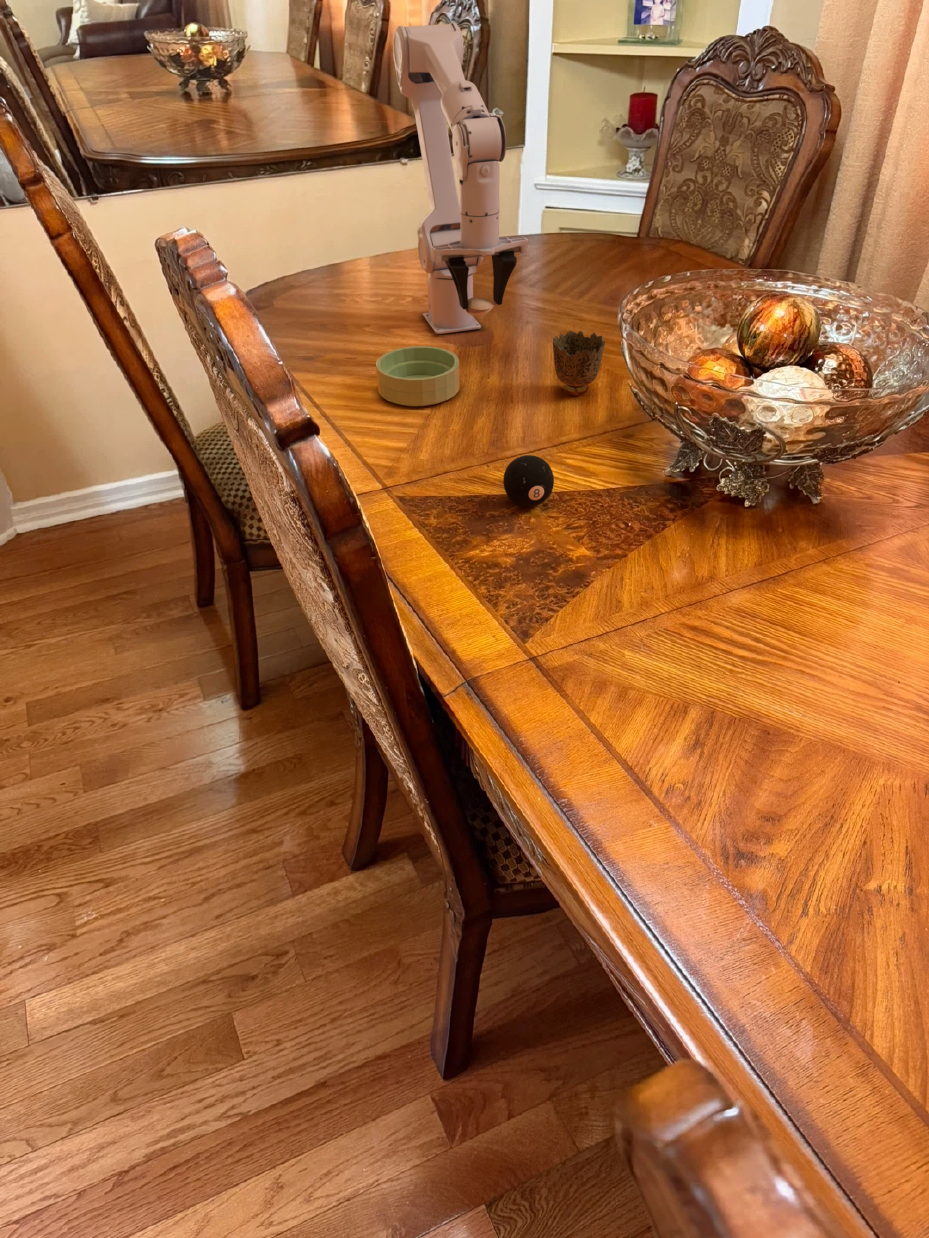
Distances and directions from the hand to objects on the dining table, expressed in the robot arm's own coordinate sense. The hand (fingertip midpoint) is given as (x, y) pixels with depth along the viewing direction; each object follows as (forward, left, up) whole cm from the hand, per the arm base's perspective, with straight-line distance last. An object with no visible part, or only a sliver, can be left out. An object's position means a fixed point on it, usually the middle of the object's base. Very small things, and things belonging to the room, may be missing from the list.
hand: (480, 305), depth 138 cm
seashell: (0, 0, -2) cm, 2 cm away
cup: (+17, +10, -9) cm, 21 cm away
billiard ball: (+44, -7, -9) cm, 45 cm away
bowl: (+9, -12, -8) cm, 18 cm away
